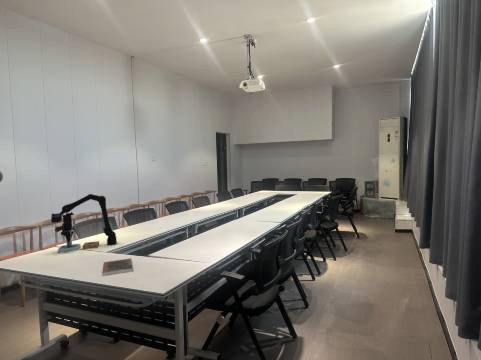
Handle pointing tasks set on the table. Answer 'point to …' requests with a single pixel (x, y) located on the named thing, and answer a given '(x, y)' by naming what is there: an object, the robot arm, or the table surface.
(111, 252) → the table surface
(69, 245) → the pin
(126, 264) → the picture frame
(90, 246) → the socket block
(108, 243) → the robot arm
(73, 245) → the tray
